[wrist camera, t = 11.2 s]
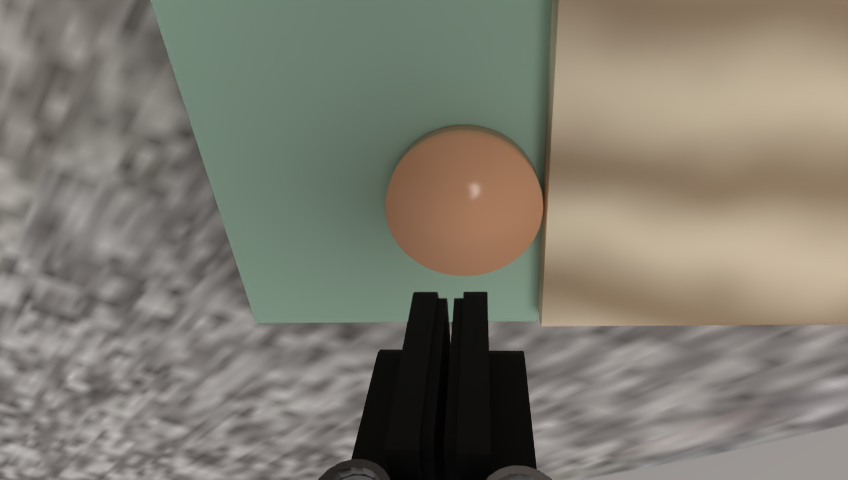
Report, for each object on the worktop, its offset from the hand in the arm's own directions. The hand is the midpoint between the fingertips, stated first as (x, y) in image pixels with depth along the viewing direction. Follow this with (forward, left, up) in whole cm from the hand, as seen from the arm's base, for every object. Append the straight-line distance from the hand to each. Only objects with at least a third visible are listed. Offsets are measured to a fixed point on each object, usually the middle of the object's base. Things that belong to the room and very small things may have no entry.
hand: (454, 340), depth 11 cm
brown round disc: (+2, 0, -12) cm, 12 cm away
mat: (+1, -4, -13) cm, 13 cm away
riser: (+1, +13, -13) cm, 18 cm away
